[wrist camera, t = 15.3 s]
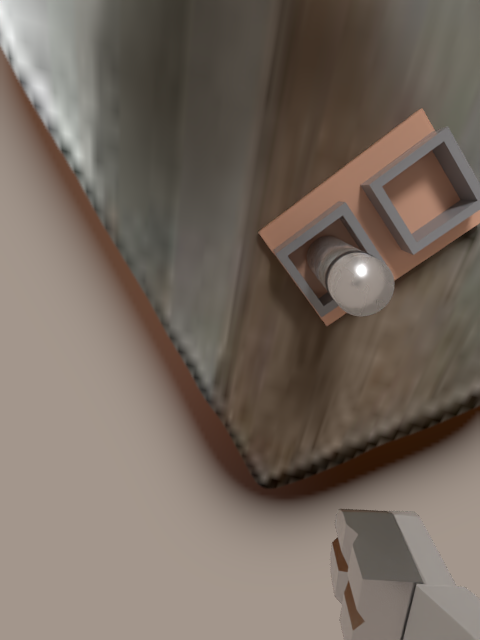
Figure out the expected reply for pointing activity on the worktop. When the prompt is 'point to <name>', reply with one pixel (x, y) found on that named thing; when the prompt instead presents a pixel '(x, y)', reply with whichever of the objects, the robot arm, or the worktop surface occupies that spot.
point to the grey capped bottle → (351, 276)
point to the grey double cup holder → (382, 207)
